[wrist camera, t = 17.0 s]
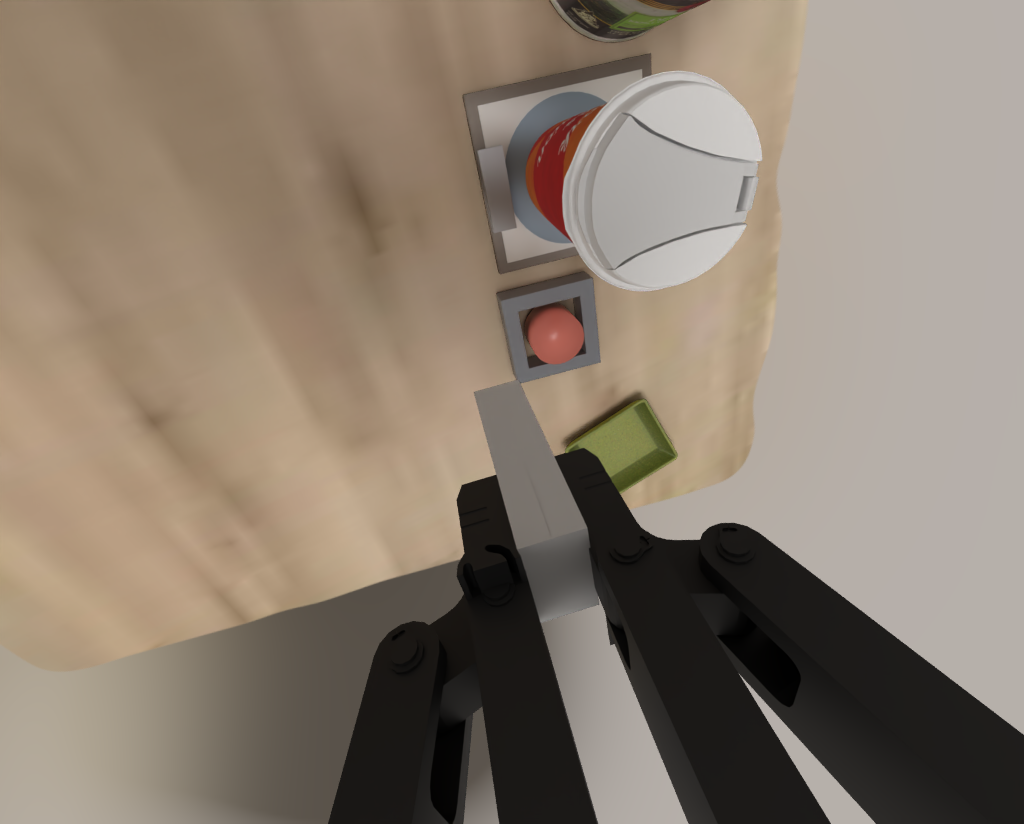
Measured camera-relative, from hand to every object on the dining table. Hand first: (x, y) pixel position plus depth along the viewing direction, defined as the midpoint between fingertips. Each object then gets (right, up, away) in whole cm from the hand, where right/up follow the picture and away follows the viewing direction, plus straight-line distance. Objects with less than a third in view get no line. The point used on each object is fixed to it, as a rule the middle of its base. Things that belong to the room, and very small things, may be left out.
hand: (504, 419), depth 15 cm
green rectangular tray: (+10, -3, +30) cm, 32 cm away
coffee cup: (+4, +16, +15) cm, 23 cm away
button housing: (+3, +7, +21) cm, 23 cm away
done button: (+3, +7, +21) cm, 22 cm away
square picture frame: (+4, +17, +16) cm, 24 cm away
